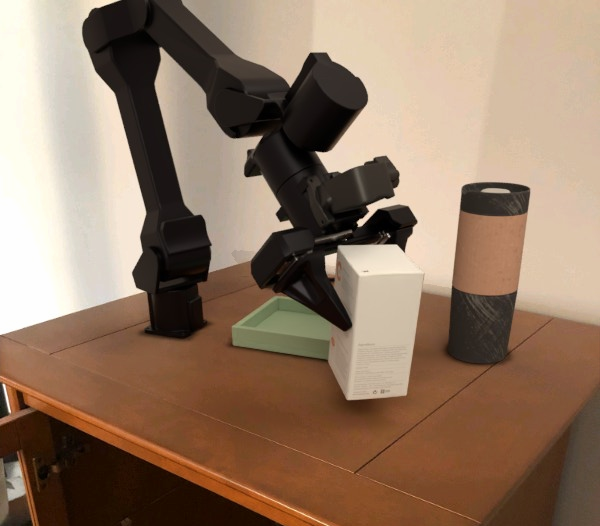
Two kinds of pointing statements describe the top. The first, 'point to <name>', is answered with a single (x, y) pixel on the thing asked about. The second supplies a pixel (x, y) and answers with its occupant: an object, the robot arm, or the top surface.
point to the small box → (375, 320)
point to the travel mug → (486, 269)
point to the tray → (284, 329)
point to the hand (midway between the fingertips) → (381, 317)
